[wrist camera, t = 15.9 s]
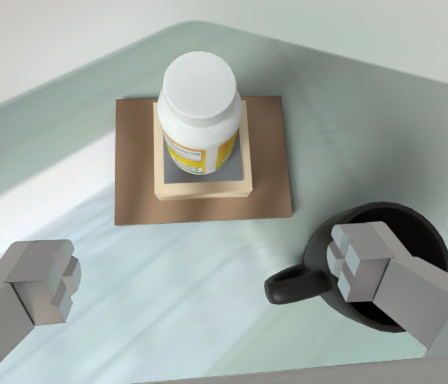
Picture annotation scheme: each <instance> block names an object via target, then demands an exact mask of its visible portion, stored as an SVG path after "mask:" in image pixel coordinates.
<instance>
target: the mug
mask: <svg viewBox="0 0 448 384" xmlns="http://www.w3.org/2000/svg"><path fill="white" fill-rule="evenodd" d="M380 221H382V222H384V223H385V224H386V225H387V226H388V227H389V228H390V230H391V231H392V232H393V233H394V235H395V236H396V237H397V238H398V240H399V241H400V242H401V243H402V244H403V246H404V247H405V248H406V249H407V251H408V252H409V253H410V254H411V256H412V257H419V258H421V259H422V260H424V261H426V262H428V263H430V264H432V265H434V266H436V267H437V268H439V269H441V270H443V271H445V272H447V273H448V250H447V247H446V245H445V243H444V241H443V238H442V237H441V235H440V234H439V233H438V231H437V230H436V228H435V227H434V226H433V225H432V224H431V223H430V222H429V221H428V220H427V219H426V218H425V217H424V216H422V215H421V214H419V213H418V212H416V211H414V210H413V209H411V208H409V207H406V206H403V205H400V204H398V203H391V202H384V201H383V202H372V203H368V204H365V205H362V206H358V207H355V208H352V209H349V210H347V211H344V212H341V213H339V214H337V215H335V216H334V217H332V218H331V219H329V220H328V221H326V222H325V223H323V224H322V225H321V226H320V227H319V228H318V229H317V231H316V232H315V233H314V234H313V235H312V237H311V239H310V240H309V242H308V244H307V246H306V248H305V251H304V254H303V264H299V265H296V266H292V267H289V268H287V269H284V270H282V271H280V272H278V273H276V274H275V275H273V276H271V277H270V278H268V279H267V280H266V281H265V284H264V288H265V293H266V296H267V299H268V300H269V302H270V303H272V304H277V305H280V304H288V303H293V302H297V301H301V300H305V299H308V298H312V297H315V296H318V295H320V296H321V297H322V298H323V299H324V301H325V302H326V303H327V304H328V305H330V306H331V307H332V308H333V309H335V310H336V311H338V312H339V313H341V314H342V315H344V316H346V317H348V318H350V319H352V320H354V321H356V322H359V323H361V324H363V325H366V326H368V327H371V328H373V329H376V330H379V331H384V332H392V333H398V332H407V331H406V330H405V329H404V328H403V327H401V326H400V325H399V324H398V323H397V322H395V321H394V320H393V319H392V318H391V317H390V316H388V315H387V314H386V313H385V312H384V311H382V310H381V309H380V308H379V307H378V306H377V305H375V304H374V303H373V301H361V302H346V301H345V299H344V297H343V295H342V293H341V291H340V289H339V287H338V285H337V284H338V281H339V278H338V277H336V276H335V275H333V274H332V273H331V270H330V268H329V265H328V262H327V249H328V245H329V244H330V243H331V242H332V241H333V240H334V239H333V237H332V235H331V233H332V229H333V227H334V226H335V225H339V224H355V223H366V222H380Z"/></svg>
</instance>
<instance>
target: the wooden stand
mask: <svg viewBox="0 0 448 384" xmlns="http://www.w3.org/2000/svg"><path fill="white" fill-rule="evenodd" d="M241 101H242V118H241V122H240V125H239V128H238V132H237V135H236V138H235V142H234V145H233V149H232V152H231V155H230V157H229V159H228V160H227V162H226V163H225V164H224V165H223V166H222V167H221V168H220V169H218V170H216V171H214V172H212V173H209V174H203V175H197V174H192V173H189V172H187V171H185V170H183V169H181V168H180V167H179V166H178V165H177V164H176V163H175V162H174V161H173V159H172V158H171V156H170V153H169V150H168V147H167V144H166V141H165V138H164V134H163V131H162V128H161V125H160V122H159V118H158V112H157V104H158V99H117V100H116V150H115V225H117V226H123V225H144V224H164V223H184V222H204V221H225V220H245V219H265V218H285V217H291V216H292V207H291V197H290V187H289V176H288V166H287V156H286V146H285V136H284V125H283V115H282V105H281V96H248V97H241Z"/></svg>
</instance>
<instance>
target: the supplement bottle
mask: <svg viewBox="0 0 448 384" xmlns="http://www.w3.org/2000/svg"><path fill="white" fill-rule="evenodd" d="M157 112H158V118H159V122H160V125H161V128H162V131H163V134H164V138H165V141H166V144H167V147H168V150H169V153H170V156H171V158H172V159H173V161H174V162H175V163H176V164H177V165H178V166H179V167H180V168H181V169H183V170H185V171H187V172H189V173H192V174H197V175H203V174H209V173H212V172H214V171H216V170H218V169H220V168H221V167H222V166H223V165H224V164H225V163H226V162H227V160H228V159H229V157H230V155H231V152H232V149H233V145H234V142H235V138H236V135H237V132H238V128H239V125H240V122H241V118H242V101H241V97H240V95H239V92H238V90H237V84H236V78H235V75H234V72H233V70H232V69H231V67H230V66H229V65H228V63H227V62H226V61H225V60H223V59H222V58H221V57H219V56H217V55H215V54H213V53H210V52H206V51H193V52H188V53H185V54H183V55H181V56H179V57H177V58H176V59H175V60H174V61H173V62H172V63H171V64H170V65H169V66H168V68H167V70H166V72H165V75H164V79H163V89H162V91H161V93H160V95H159V99H158V104H157Z"/></svg>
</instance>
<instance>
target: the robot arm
mask: <svg viewBox="0 0 448 384" xmlns="http://www.w3.org/2000/svg"><path fill="white" fill-rule="evenodd" d="M331 235H332V237H333V239H334V240H333V241H332V242H331V243H330V244H329V245H328V249H327V262H328V265H329V268H330V270H331V273H332V274H333V275H335V276H336V277H338V278H339V281H338V284H337V285H338V287H339V289H340V291H341V293H342V295H343V297H344V299H345V301H346V302H361V301H373V303H374V304H375V305H377V306H378V307H379V308H380V309H381V310H382V311H384V312H385V313H386V314H387V315H388V316H390V317H391V318H392V319H393V320H394V321H395V322H397V323H398V324H399V325H400V326H401V327H403V328H404V329H405V330H406V331H407V332H408V333H410V334H411V335H412V336H413V337H414V338H416V339H417V340H418V341H419V342H420V343H421V344H423V345H424V346H425V347H426V348H427V349H428V350H427V352H426V353H425V355H424V356H423V358H416V359H404V360H393V361H382V362H370V363H359V364H348V365H336V366H325V367H314V368H303V369H291V370H280V371H269V372H257V373H246V374H235V375H224V376H212V377H201V378H190V379H179V380H167V381H156V382H145V383H133V384H448V273H447V272H445V271H443V270H441V269H439V268H437V267H436V266H434V265H432V264H430V263H428V262H426V261H424V260H422V259H421V258H419V257H412V256H411V254H410V253H409V252H408V251H407V249H406V248H405V247H404V246H403V244H402V243H401V242H400V241H399V240H398V238H397V237H396V236H395V235H394V233H393V232H392V231H391V230H390V228H389V227H388V226H387V225H386V224H385V223H384V222H382V221H380V222H366V223H355V224H339V225H335V226H334V227H333V229H332V233H331ZM73 251H74V247H73V244H72V242H71V241H70V240H68V239H66V240H36V241H16V242H14V243H13V244H11V245H10V247H9V248H8V250H7V251H6V252H5V254H4V255H3V257H2V258H1V260H0V362H1V361H2V360H3V359H4V358H5V357H6V356H7V355H8V354H9V353H10V352H11V351H12V350H13V349H14V348H15V347H16V346H17V345H18V344H19V343H20V342H21V341H22V340H23V339H24V338H25V337H26V336H27V335H28V334H29V333H30V332H31V331H32V330H33V329H34V326H38V325H48V324H58V323H65V322H66V320H67V317H68V314H69V312H70V309H71V306H72V304H73V302H72V300H71V297H70V296H71V295H73V294H74V293H75V292H76V291H77V290H78V287H79V284H80V279H81V267H80V263H79V260H78V259H77V258H75V257H74V256H72V254H73Z"/></svg>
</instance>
